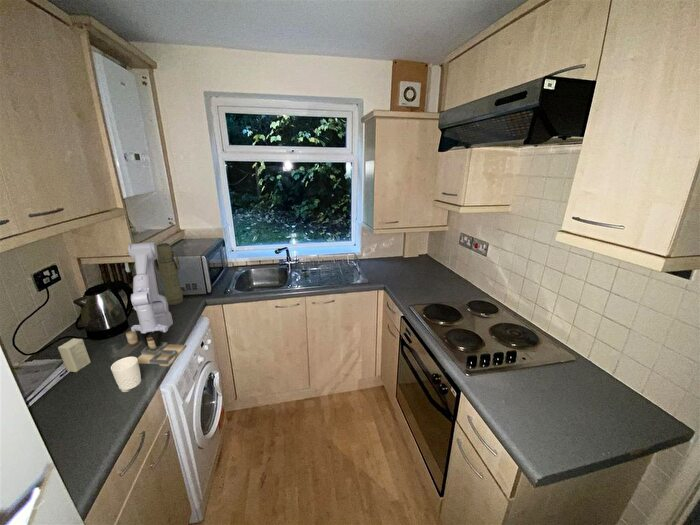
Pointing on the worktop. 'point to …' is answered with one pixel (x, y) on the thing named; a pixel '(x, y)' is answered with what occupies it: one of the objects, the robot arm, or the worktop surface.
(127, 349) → the pad
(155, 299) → the robot arm
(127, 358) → the white cup
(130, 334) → the sleeve band down
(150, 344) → the sleeve band up
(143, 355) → the socket board
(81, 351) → the skincare box
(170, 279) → the thermos
